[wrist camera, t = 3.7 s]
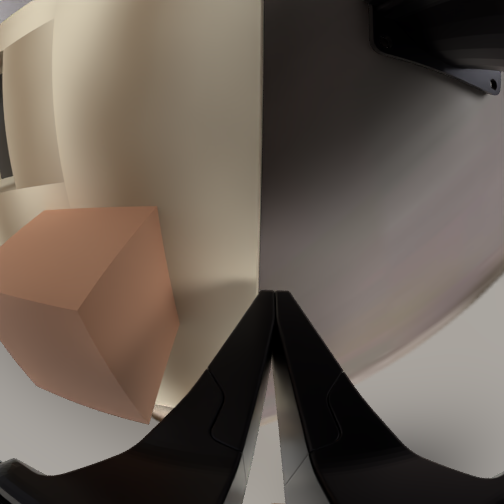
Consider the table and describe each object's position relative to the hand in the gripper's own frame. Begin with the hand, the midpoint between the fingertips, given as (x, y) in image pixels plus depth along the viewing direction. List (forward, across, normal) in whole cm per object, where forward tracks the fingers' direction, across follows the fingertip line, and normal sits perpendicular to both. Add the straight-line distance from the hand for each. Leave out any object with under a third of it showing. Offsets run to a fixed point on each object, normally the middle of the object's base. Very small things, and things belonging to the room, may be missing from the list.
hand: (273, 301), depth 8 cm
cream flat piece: (+4, +11, 0) cm, 12 cm away
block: (+1, +6, 0) cm, 6 cm away
